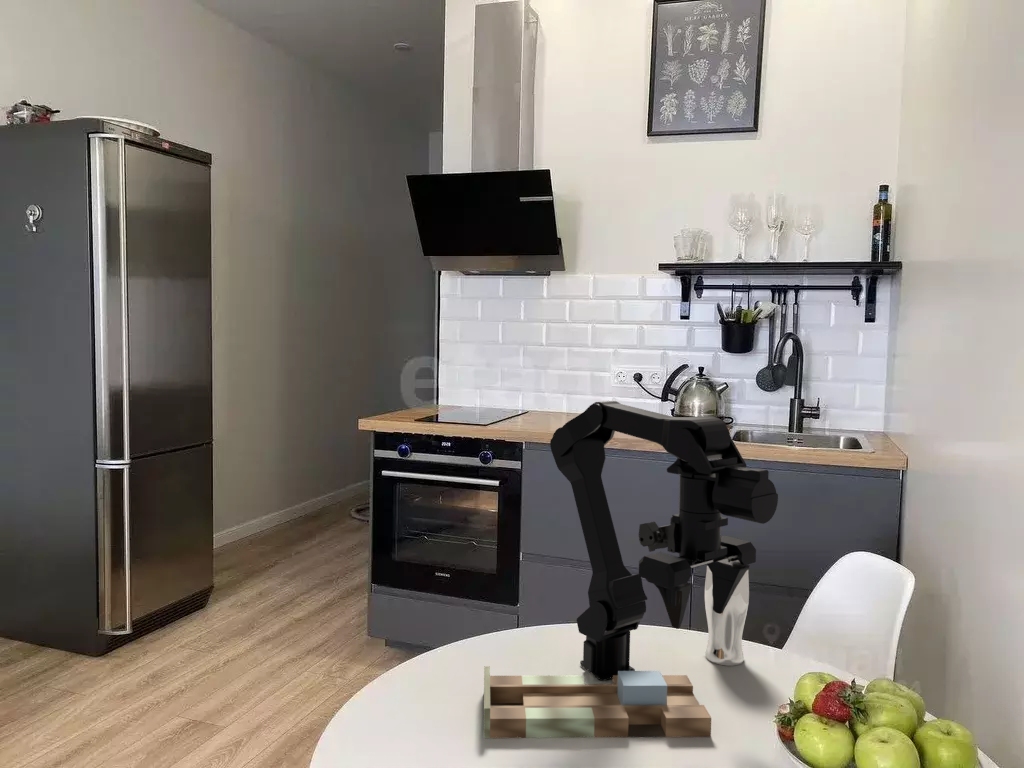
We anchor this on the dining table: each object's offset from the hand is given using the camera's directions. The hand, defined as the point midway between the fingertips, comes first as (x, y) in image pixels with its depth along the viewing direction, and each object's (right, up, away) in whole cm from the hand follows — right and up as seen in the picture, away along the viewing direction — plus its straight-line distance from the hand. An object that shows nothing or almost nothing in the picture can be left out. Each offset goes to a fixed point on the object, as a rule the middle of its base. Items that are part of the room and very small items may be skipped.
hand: (697, 620), depth 106 cm
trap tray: (-15, -13, +1) cm, 20 cm away
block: (-8, -12, +1) cm, 14 cm away
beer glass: (+9, -12, +19) cm, 25 cm away
